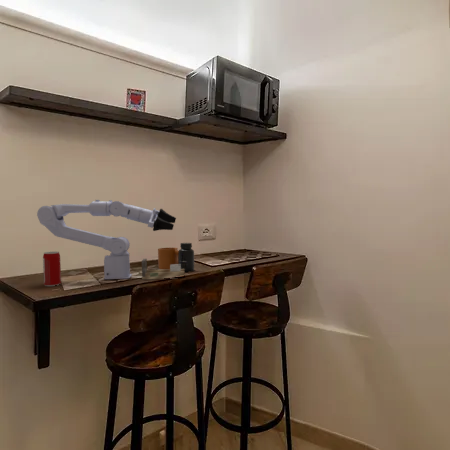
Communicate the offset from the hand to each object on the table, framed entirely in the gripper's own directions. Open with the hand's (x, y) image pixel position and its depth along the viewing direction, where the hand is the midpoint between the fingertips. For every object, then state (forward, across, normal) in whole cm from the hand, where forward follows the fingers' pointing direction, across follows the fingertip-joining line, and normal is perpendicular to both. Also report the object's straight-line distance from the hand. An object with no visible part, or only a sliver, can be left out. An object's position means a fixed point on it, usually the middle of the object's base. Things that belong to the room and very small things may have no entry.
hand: (174, 223), depth 141 cm
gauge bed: (+2, -10, +19) cm, 21 cm away
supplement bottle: (+10, +4, +21) cm, 24 cm away
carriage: (+6, -9, +17) cm, 20 cm away
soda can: (-36, -21, +27) cm, 49 cm away
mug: (+3, +11, +26) cm, 29 cm away
